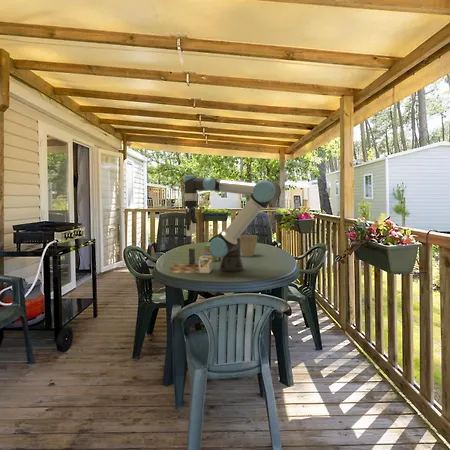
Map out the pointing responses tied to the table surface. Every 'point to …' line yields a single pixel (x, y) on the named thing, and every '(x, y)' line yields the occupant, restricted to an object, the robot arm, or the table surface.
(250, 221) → the robot arm
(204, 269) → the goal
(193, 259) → the sled
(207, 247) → the chalk box
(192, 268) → the tray
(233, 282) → the table surface
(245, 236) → the plant pot
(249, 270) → the table surface
